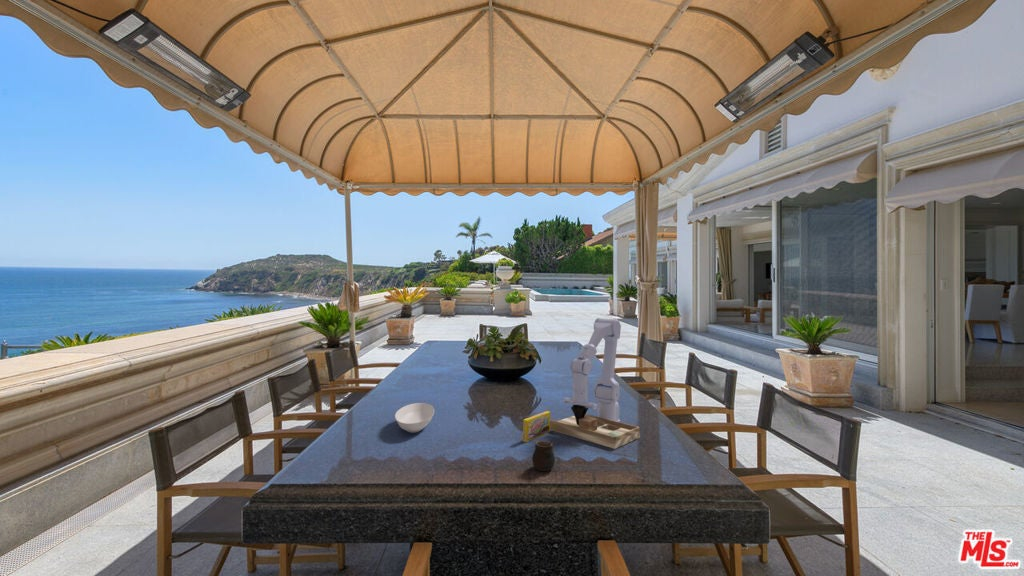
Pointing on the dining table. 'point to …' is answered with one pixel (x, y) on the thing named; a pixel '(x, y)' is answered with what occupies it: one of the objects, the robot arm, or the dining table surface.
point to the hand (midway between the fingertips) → (579, 424)
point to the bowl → (414, 416)
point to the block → (588, 423)
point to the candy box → (536, 426)
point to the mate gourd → (543, 456)
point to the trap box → (598, 431)
